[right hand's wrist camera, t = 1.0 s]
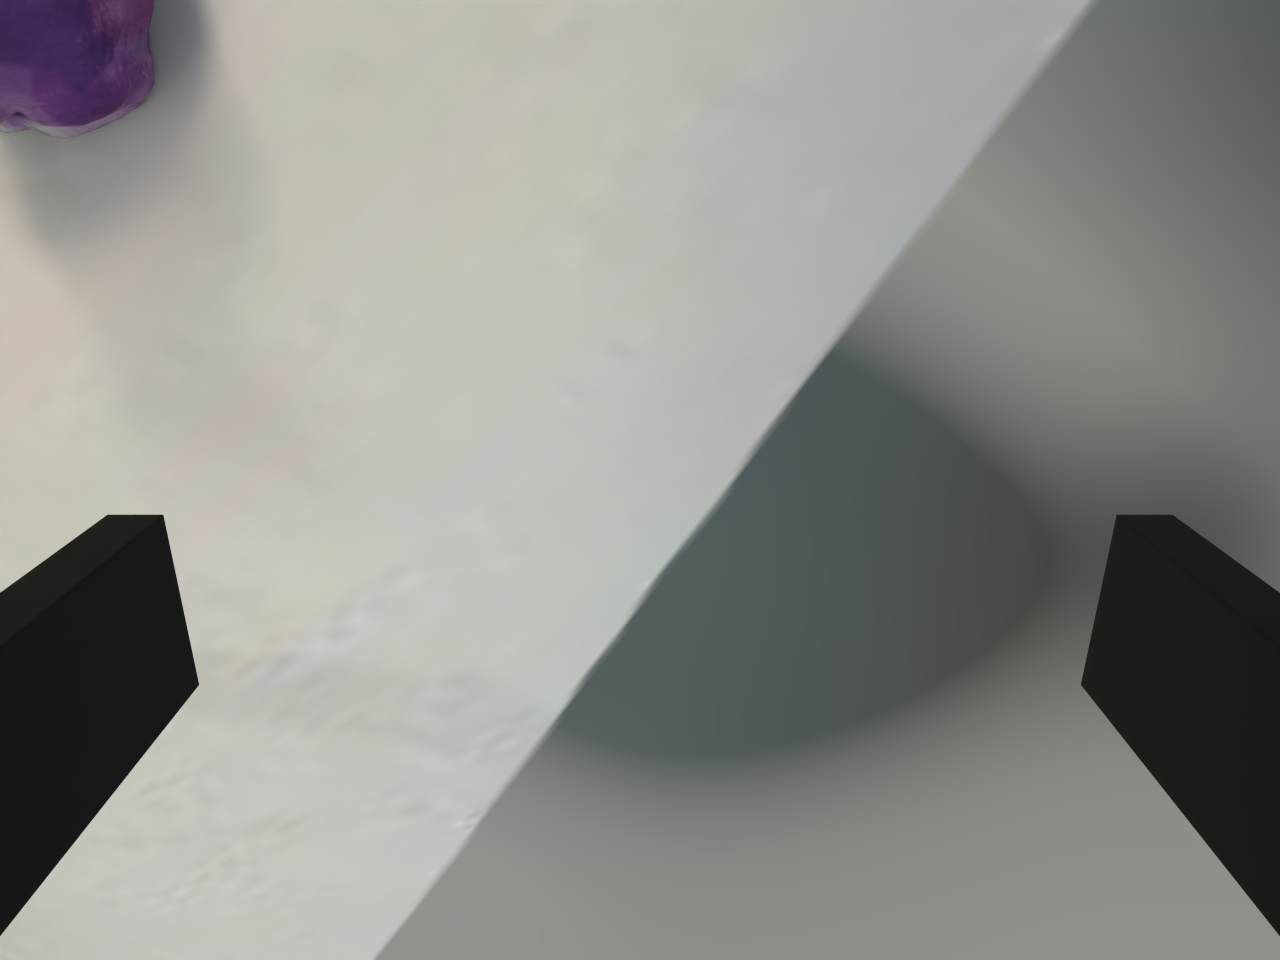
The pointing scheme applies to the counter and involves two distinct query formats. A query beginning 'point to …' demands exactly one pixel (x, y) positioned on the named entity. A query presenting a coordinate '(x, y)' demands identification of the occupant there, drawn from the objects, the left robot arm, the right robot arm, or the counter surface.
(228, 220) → the counter surface
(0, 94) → the figurine
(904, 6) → the counter surface
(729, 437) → the counter surface
